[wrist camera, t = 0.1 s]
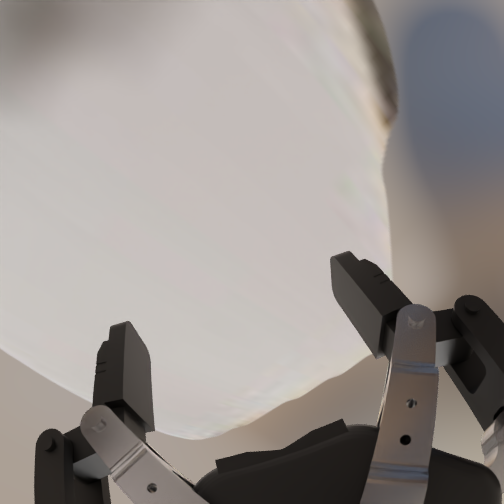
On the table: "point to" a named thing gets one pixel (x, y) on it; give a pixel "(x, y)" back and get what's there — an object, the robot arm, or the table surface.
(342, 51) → the table surface
